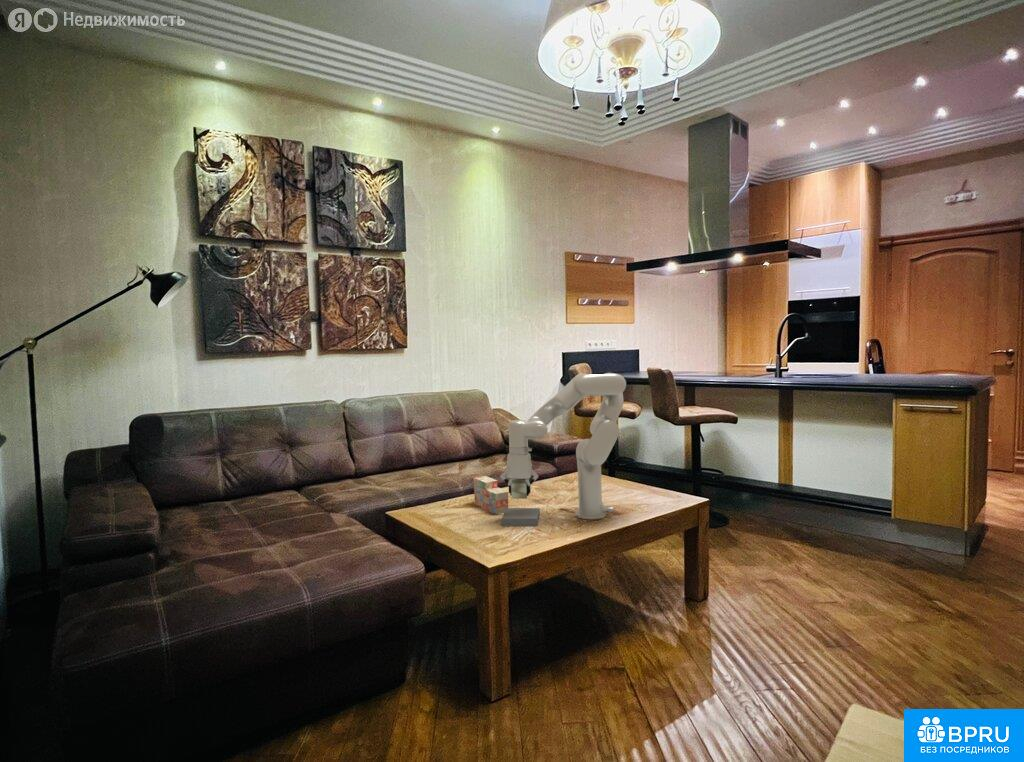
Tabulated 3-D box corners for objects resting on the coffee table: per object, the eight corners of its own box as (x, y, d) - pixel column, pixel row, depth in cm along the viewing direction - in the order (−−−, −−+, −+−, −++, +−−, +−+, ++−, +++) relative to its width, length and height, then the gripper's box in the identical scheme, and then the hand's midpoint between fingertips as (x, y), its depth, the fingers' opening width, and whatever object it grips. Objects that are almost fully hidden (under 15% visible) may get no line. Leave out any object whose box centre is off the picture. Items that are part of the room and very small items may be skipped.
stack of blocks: (509, 512, 234) (508, 484, 233) (496, 515, 231) (495, 486, 230) (486, 501, 252) (485, 475, 252) (474, 503, 249) (473, 477, 249)
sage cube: (527, 494, 225) (527, 480, 224) (526, 498, 219) (526, 483, 218) (513, 494, 225) (513, 480, 225) (511, 498, 219) (511, 483, 219)
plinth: (539, 515, 229) (539, 508, 228) (537, 526, 215) (536, 518, 215) (506, 515, 230) (506, 508, 230) (501, 525, 217) (501, 518, 216)
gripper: (540, 449, 223) (541, 492, 225) (498, 449, 226) (500, 492, 227) (539, 452, 216) (540, 497, 217) (496, 452, 218) (497, 497, 219)
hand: (519, 494), depth 222 cm, fingers closed on sage cube, 6 cm apart
